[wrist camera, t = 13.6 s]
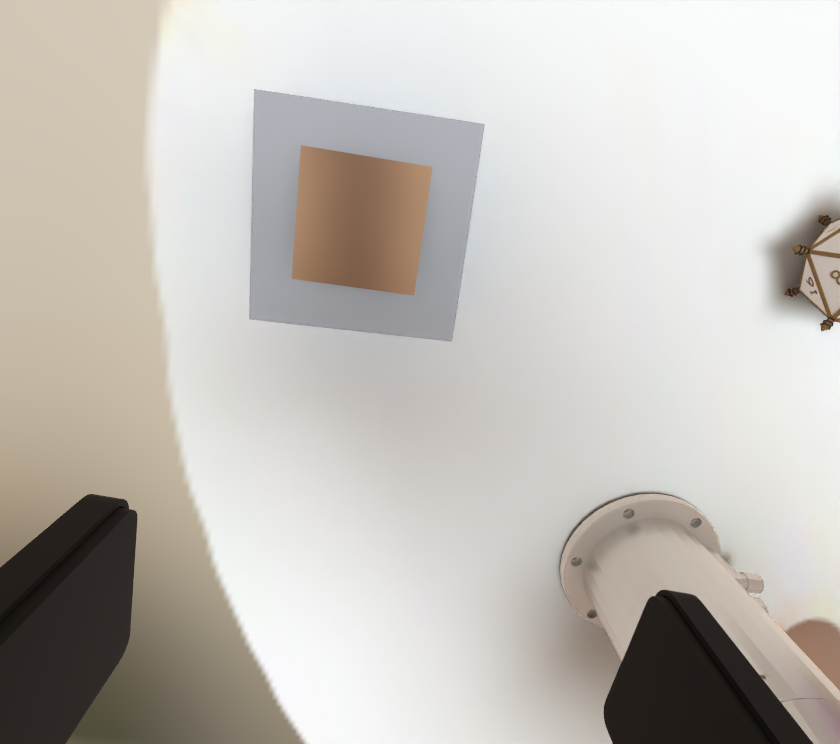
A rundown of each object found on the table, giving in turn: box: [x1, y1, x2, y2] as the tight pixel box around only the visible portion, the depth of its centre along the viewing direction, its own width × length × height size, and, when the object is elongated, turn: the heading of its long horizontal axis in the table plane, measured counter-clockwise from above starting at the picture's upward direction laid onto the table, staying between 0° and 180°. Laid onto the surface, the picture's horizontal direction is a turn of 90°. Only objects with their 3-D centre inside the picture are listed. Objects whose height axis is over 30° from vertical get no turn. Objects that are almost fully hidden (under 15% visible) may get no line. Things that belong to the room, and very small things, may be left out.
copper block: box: [292, 145, 432, 296], centre depth 22 cm, size 5×5×6 cm
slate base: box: [249, 89, 485, 341], centre depth 28 cm, size 11×11×6 cm
